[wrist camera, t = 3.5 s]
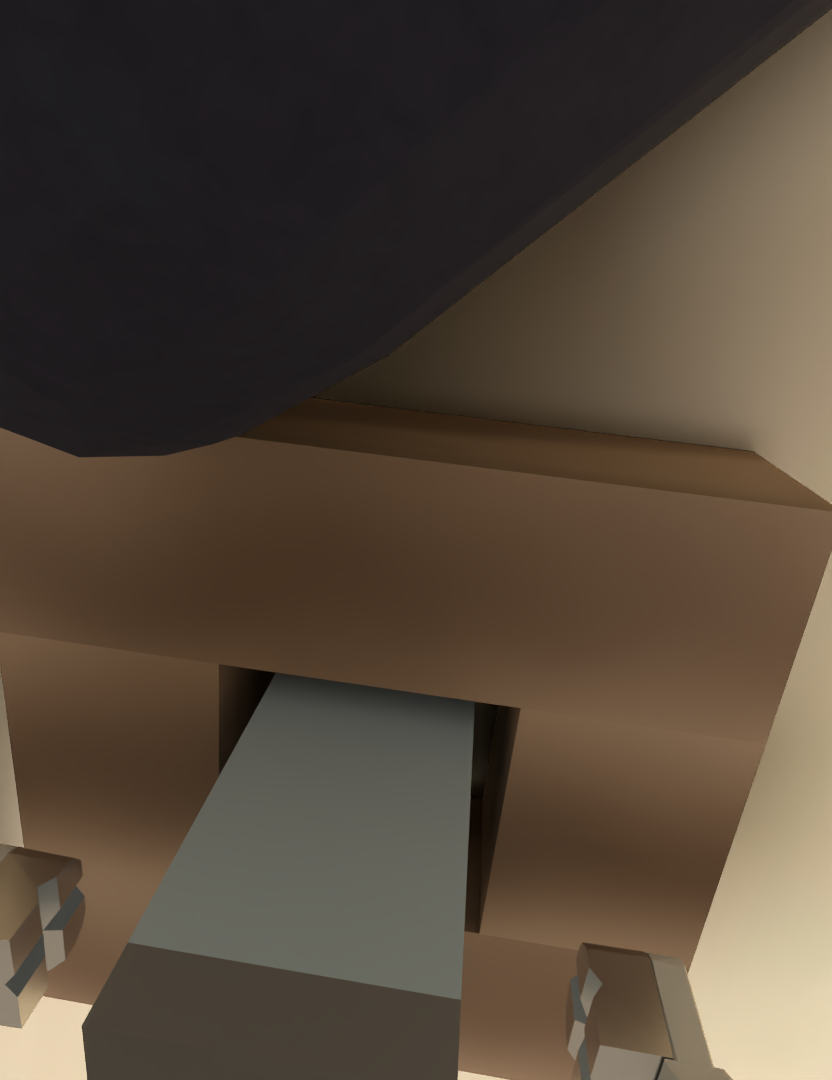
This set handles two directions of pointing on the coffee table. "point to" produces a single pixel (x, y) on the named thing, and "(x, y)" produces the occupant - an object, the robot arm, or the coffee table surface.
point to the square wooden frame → (414, 663)
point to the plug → (308, 903)
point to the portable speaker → (302, 183)
